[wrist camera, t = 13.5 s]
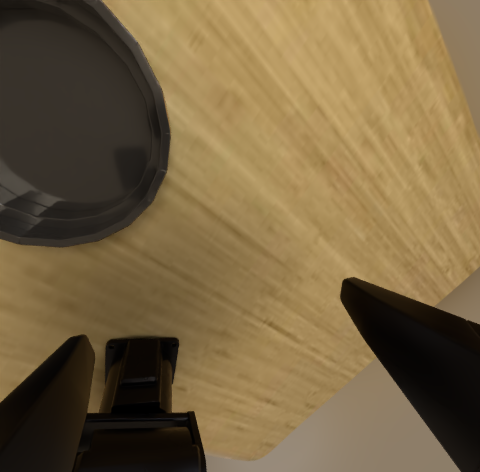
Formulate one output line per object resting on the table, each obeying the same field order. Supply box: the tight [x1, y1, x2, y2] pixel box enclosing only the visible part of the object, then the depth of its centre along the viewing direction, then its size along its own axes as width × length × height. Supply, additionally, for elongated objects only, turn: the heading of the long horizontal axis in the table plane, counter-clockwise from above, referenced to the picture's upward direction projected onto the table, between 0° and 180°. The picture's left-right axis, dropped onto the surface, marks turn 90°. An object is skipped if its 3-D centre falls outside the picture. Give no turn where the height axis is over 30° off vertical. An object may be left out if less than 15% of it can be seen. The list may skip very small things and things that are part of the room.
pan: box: [0, 0, 171, 247], centre depth 14 cm, size 13×13×4 cm
